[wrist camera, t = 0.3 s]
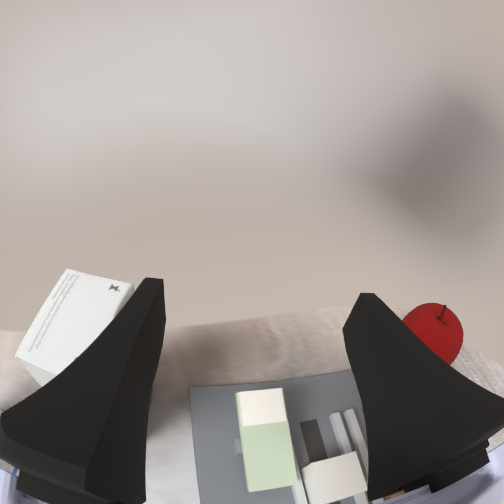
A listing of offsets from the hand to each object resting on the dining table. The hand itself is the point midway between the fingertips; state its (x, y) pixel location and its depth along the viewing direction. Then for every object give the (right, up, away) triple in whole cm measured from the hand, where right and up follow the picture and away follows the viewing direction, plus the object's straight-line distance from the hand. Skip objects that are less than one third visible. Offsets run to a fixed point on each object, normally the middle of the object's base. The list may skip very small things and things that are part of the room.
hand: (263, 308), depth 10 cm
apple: (+21, -12, +22) cm, 33 cm away
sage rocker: (+1, -14, +10) cm, 17 cm away
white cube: (+6, -19, +9) cm, 21 cm away
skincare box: (-13, -14, +14) cm, 23 cm away
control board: (+6, -18, +11) cm, 22 cm away
